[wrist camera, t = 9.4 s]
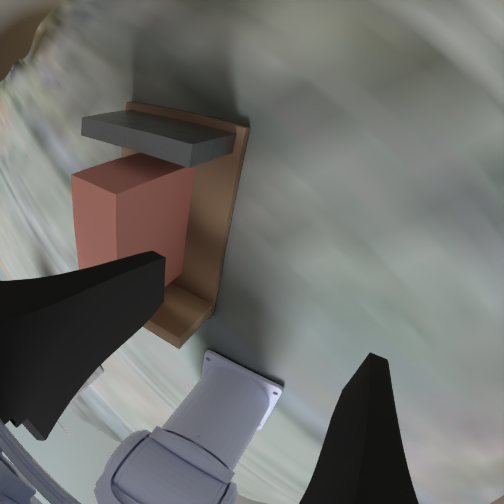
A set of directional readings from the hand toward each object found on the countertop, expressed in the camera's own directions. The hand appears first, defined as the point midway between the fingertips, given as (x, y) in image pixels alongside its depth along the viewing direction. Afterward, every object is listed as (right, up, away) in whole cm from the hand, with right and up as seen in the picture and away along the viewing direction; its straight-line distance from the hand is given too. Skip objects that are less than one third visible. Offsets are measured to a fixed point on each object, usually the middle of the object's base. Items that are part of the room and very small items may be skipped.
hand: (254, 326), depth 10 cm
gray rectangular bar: (-5, +11, +10) cm, 15 cm away
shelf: (-6, +5, +13) cm, 16 cm away
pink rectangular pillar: (-6, +5, +13) cm, 15 cm away
